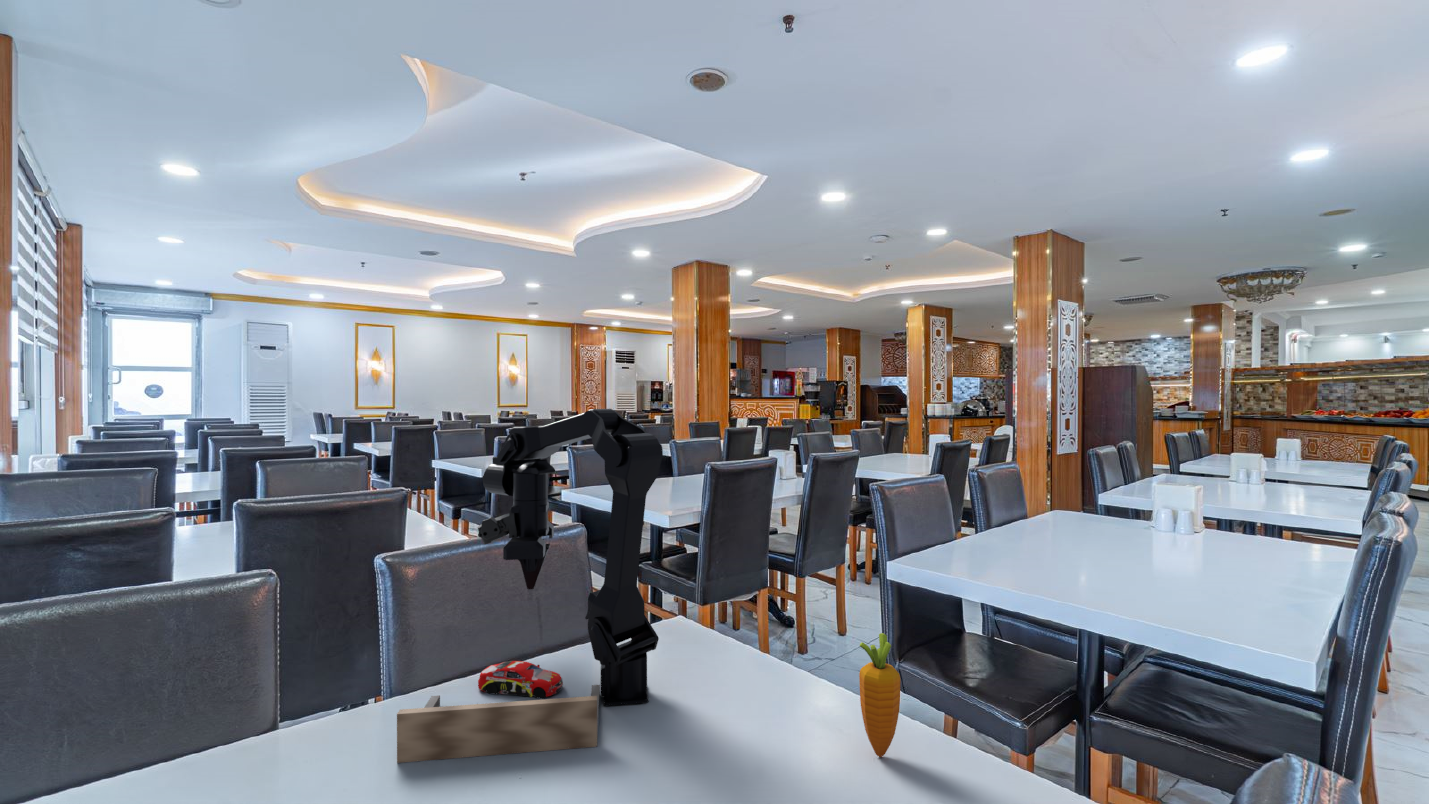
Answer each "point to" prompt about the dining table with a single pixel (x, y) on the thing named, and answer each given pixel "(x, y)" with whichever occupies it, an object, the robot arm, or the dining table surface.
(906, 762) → the dining table surface
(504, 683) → the race car
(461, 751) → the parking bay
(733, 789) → the dining table surface
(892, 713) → the carrot
